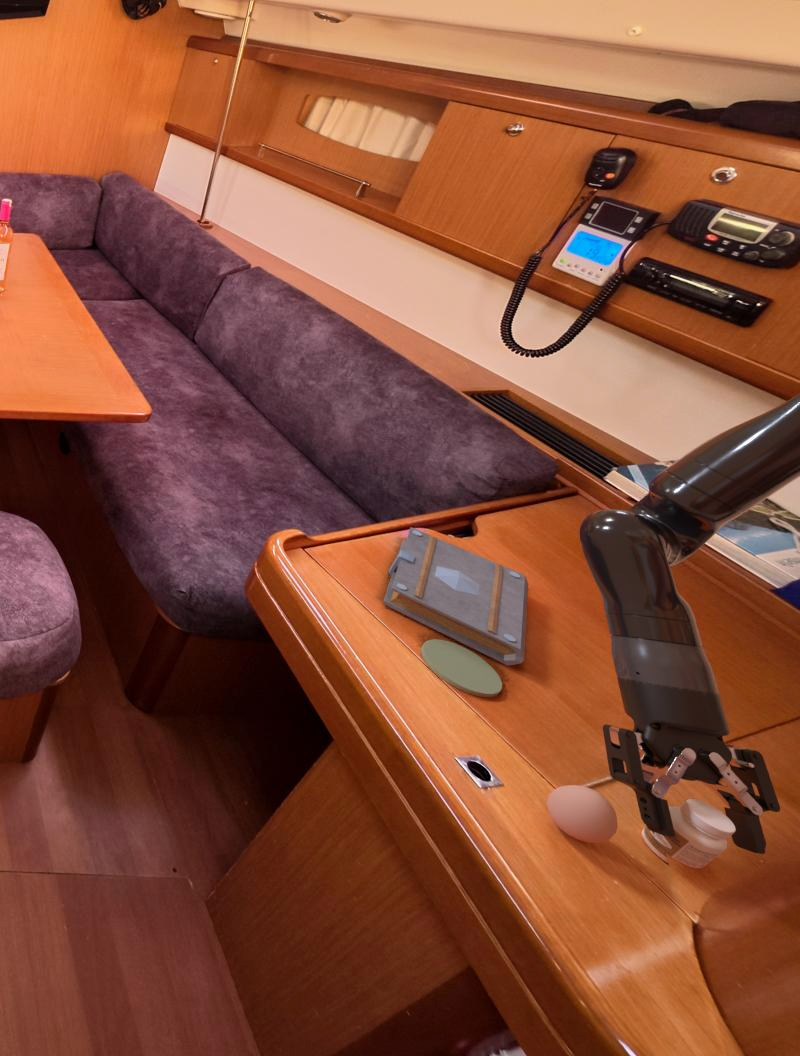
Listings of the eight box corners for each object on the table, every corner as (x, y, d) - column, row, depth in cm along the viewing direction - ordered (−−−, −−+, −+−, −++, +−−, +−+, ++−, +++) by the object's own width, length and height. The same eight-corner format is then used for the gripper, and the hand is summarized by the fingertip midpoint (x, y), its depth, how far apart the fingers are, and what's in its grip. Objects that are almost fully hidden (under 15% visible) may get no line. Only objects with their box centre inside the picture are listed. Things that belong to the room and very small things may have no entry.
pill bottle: (631, 822, 75) (671, 786, 72) (682, 841, 74) (725, 805, 70) (654, 861, 72) (696, 825, 68) (708, 882, 70) (755, 846, 67)
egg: (571, 808, 76) (603, 777, 73) (611, 858, 72) (646, 826, 69) (524, 800, 77) (554, 768, 74) (560, 848, 72) (593, 817, 69)
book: (514, 671, 93) (532, 649, 91) (378, 603, 104) (391, 582, 101) (519, 595, 106) (535, 574, 104) (398, 542, 117) (410, 522, 115)
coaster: (497, 666, 94) (499, 663, 93) (502, 710, 88) (505, 706, 87) (420, 632, 99) (422, 628, 99) (420, 671, 93) (422, 667, 92)
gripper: (631, 677, 72) (670, 844, 67) (777, 700, 70) (828, 872, 65) (566, 666, 79) (597, 815, 74) (697, 686, 77) (738, 841, 72)
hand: (705, 842), depth 69 cm, fingers open, 8 cm apart
